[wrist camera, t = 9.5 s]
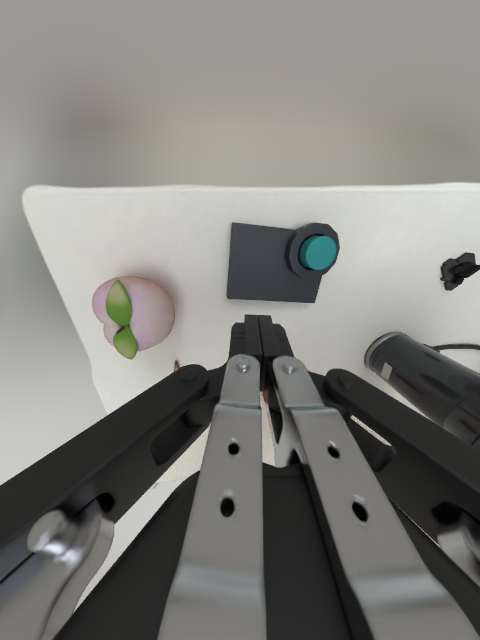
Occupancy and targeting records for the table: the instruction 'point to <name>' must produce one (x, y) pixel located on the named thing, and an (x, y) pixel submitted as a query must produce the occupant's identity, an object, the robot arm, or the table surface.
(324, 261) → the button
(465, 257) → the dark flat lumpy piece
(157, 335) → the decorative fruit
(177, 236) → the table surface
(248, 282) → the push button panel
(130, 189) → the table surface
